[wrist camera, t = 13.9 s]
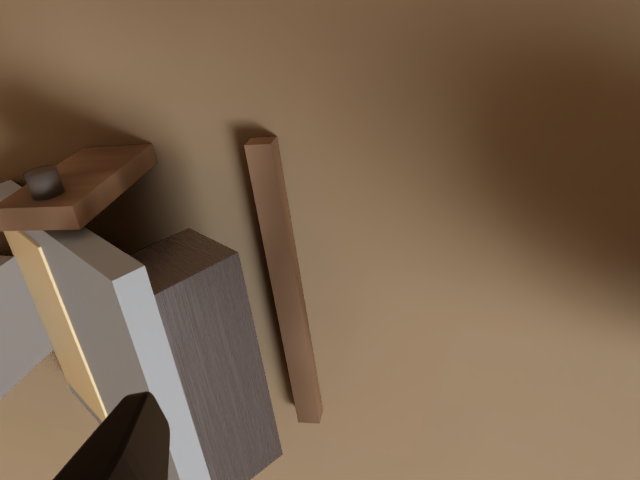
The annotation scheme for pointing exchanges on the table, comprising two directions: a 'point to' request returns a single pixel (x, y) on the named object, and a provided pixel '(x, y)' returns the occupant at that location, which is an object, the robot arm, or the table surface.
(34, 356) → the tall grey rectangular block
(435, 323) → the table surface
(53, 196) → the trapdoor frame
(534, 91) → the table surface
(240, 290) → the trapdoor
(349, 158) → the table surface
